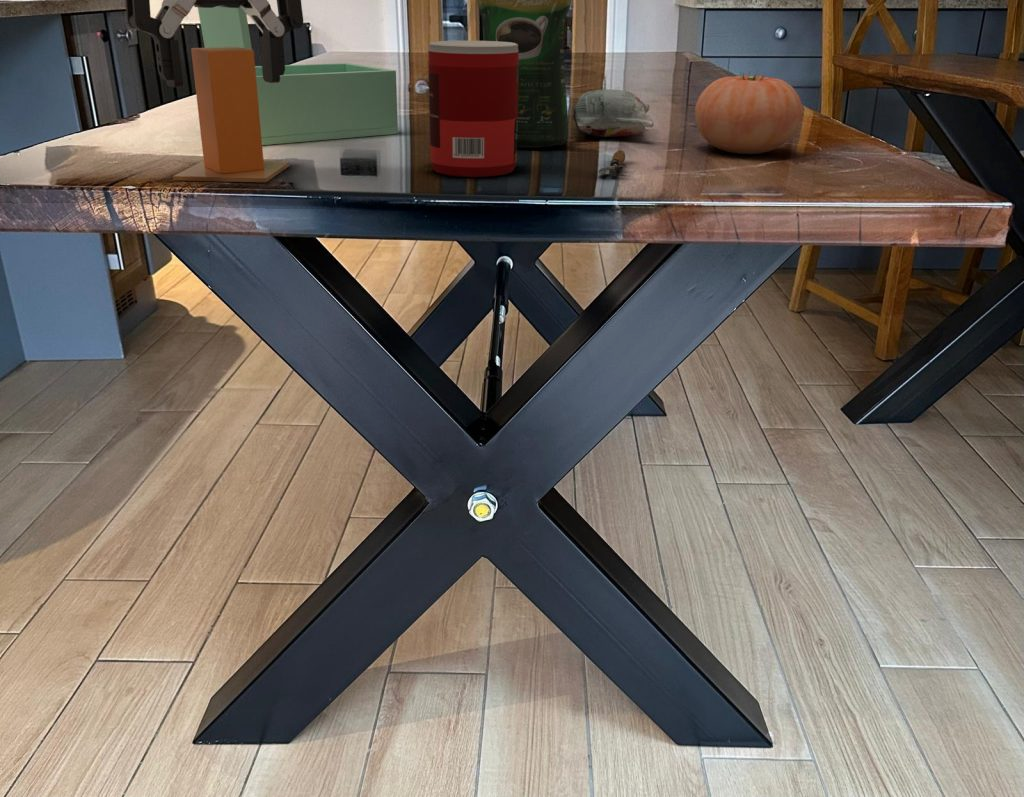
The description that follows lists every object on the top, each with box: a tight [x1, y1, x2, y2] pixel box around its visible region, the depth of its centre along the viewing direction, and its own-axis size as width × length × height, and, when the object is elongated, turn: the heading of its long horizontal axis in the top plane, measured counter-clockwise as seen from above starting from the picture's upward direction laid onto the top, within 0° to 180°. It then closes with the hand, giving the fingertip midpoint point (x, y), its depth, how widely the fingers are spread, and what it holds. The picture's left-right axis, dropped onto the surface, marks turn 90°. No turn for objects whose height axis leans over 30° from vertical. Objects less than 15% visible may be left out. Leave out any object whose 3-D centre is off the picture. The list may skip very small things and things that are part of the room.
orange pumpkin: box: [694, 71, 804, 155], centre depth 98 cm, size 11×11×8 cm
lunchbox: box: [255, 62, 399, 146], centre depth 106 cm, size 17×12×7 cm
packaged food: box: [572, 88, 654, 138], centre depth 108 cm, size 9×12×5 cm
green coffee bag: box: [476, 0, 572, 149], centre depth 99 cm, size 10×8×19 cm
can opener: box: [598, 149, 627, 177], centre depth 88 cm, size 9×2×1 cm, turn 163°
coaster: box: [172, 159, 290, 183], centre depth 85 cm, size 8×8×1 cm
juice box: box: [190, 47, 265, 174], centre depth 83 cm, size 4×4×10 cm
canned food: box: [427, 40, 519, 178], centre depth 86 cm, size 8×8×11 cm
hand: (224, 84), depth 82 cm, fingers open, 8 cm apart
